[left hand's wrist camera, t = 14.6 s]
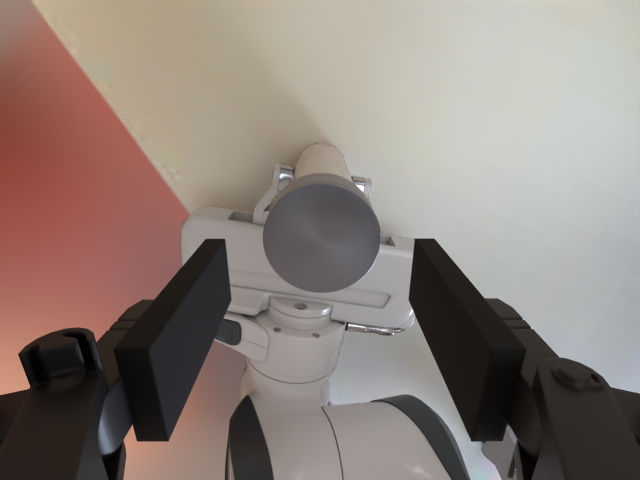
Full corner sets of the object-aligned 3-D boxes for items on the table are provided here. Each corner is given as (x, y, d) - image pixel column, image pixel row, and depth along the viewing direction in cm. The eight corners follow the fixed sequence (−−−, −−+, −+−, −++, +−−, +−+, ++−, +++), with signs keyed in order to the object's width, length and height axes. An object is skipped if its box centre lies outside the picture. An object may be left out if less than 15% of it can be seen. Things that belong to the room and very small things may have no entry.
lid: (277, 275, 19) (272, 297, 17) (262, 178, 17) (253, 189, 15) (375, 266, 19) (382, 288, 17) (371, 167, 17) (378, 177, 15)
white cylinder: (300, 193, 34) (279, 285, 17) (294, 145, 33) (265, 195, 16) (347, 189, 34) (373, 277, 17) (343, 140, 32) (368, 185, 16)
